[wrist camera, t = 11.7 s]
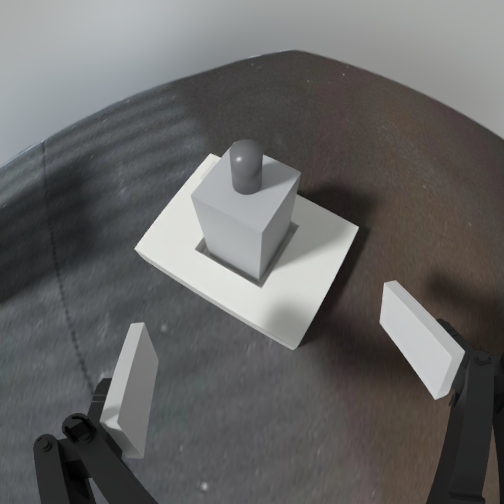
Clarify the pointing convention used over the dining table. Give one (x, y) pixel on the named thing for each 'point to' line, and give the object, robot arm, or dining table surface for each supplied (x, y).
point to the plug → (246, 208)
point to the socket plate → (275, 278)
